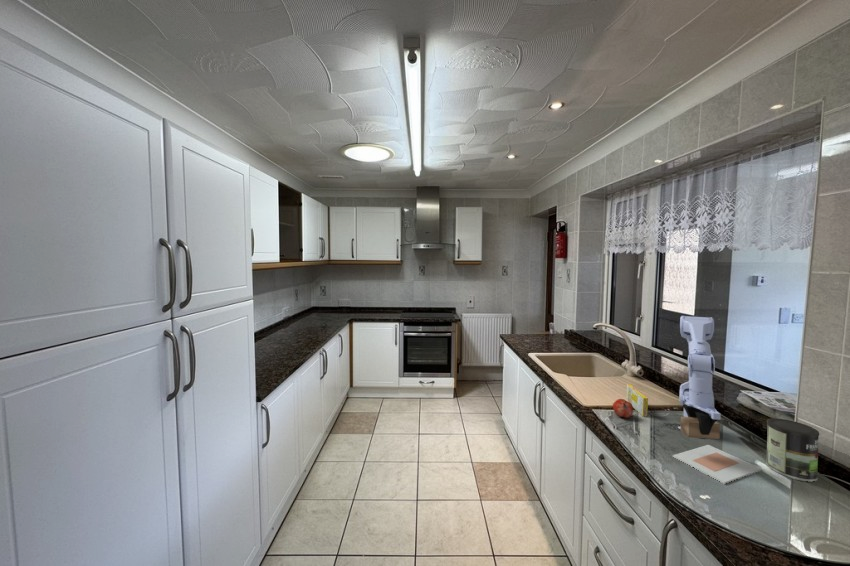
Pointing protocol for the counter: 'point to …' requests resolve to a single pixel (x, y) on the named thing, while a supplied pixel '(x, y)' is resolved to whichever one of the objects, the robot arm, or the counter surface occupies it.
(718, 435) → the walnut block
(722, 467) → the mat
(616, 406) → the pomegranate
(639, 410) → the candy box
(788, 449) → the coffee can
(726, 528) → the counter surface
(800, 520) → the counter surface
